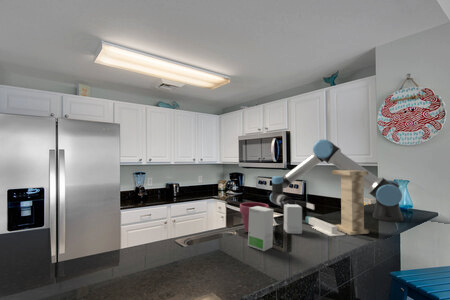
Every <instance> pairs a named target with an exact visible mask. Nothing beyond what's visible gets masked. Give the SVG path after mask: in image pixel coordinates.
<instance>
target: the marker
mask: <svg viewBox="0 0 450 300" xmlns="http://www.w3.org/2000/svg"><path fill="white" fill-rule="evenodd" d="M305 223H306V224H309V225H311V226H312V227H313V226H315V227H317V228H320V229H322V230H324V231H327V232H329V233H331V234H334V233H337V231H338V230H337V226H335V225H336V224H333V223H329V222H327V221H324V220H321V219H319V218H317V217H313V216H310V215H309V216H305Z"/></svg>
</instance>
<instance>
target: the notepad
mask: <svg viewBox="0 0 450 300" xmlns="http://www.w3.org/2000/svg"><path fill="white" fill-rule="evenodd" d="M311 227H312V228H311V229H313V228H314V229H313V230H315V229H316V231H318V232H320V233H323V234H325V235H326V236H328V237H340V236H346V233H344V232H341V231H339V230H337V233H334V234H331V233H329V232H327V231H324V230H322V229H320V228H317V227H315V226H313V225H312V226H311Z"/></svg>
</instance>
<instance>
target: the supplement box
mask: <svg viewBox="0 0 450 300" xmlns="http://www.w3.org/2000/svg"><path fill="white" fill-rule="evenodd" d="M283 230H284V231H285V232H286V234H295V235H296V234H298V235H299V234H302V233H303V206H299V205H296V204H295V205H284V207H283Z"/></svg>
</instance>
